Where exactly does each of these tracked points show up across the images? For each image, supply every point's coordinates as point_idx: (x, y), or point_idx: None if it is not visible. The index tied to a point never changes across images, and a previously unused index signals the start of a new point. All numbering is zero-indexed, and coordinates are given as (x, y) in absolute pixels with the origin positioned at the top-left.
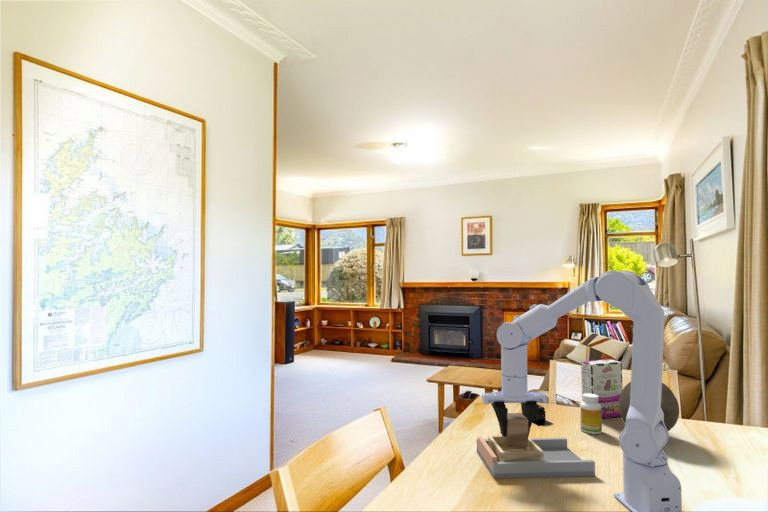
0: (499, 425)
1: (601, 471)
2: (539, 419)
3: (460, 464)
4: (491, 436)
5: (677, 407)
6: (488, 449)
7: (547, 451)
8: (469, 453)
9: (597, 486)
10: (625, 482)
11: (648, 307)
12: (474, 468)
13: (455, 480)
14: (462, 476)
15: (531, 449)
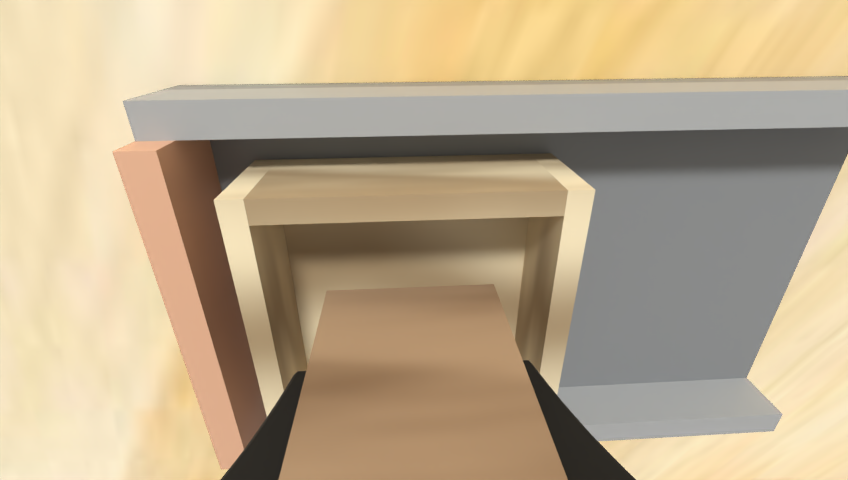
0: (263, 427)
1: (790, 341)
2: None
3: (74, 272)
4: (243, 208)
5: None
6: (205, 387)
7: (677, 176)
8: (121, 111)
9: (662, 441)
10: None
11: None
12: (163, 316)
13: (73, 416)
14: (103, 387)
15: (532, 298)
